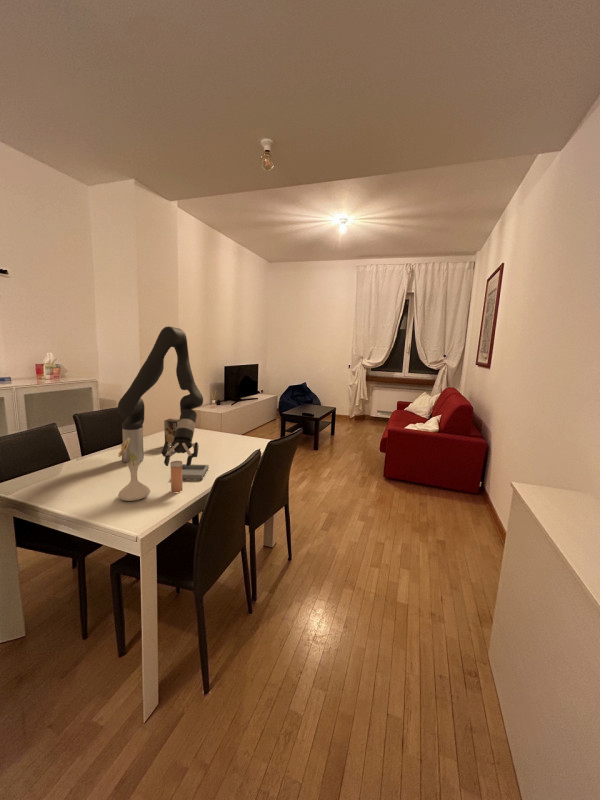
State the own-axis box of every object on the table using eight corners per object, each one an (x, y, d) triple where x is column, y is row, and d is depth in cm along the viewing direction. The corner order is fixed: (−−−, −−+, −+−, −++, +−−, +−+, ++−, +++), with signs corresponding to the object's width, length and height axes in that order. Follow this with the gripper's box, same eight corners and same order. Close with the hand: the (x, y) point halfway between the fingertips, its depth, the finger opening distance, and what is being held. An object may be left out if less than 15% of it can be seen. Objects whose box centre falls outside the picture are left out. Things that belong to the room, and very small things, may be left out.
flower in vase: (126, 490, 134) (123, 431, 130) (154, 491, 135) (153, 432, 131) (110, 505, 121) (107, 440, 118) (142, 506, 122) (139, 441, 118)
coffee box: (184, 445, 197) (184, 419, 195) (178, 448, 191) (177, 421, 189) (170, 444, 199) (170, 418, 197) (164, 447, 193) (163, 420, 191)
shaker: (169, 493, 134) (168, 464, 132) (173, 488, 138) (172, 460, 136) (180, 493, 134) (180, 464, 132) (184, 488, 138) (183, 460, 137)
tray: (172, 479, 147) (172, 474, 147) (181, 469, 160) (181, 464, 160) (202, 480, 148) (202, 474, 147) (208, 469, 161) (208, 464, 160)
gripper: (166, 426, 141) (156, 461, 131) (199, 427, 142) (192, 461, 132) (170, 435, 147) (161, 469, 137) (202, 436, 148) (196, 469, 138)
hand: (177, 465), depth 135 cm, fingers open, 8 cm apart
